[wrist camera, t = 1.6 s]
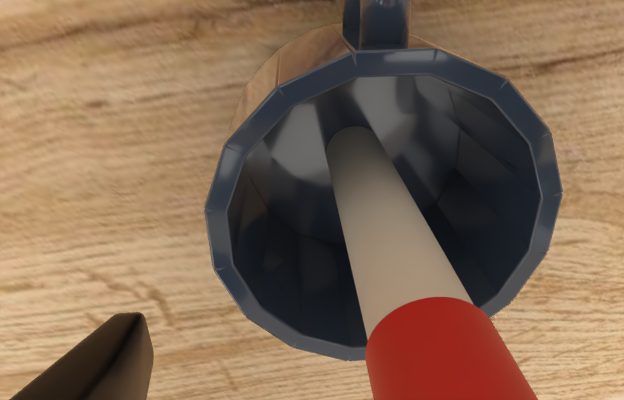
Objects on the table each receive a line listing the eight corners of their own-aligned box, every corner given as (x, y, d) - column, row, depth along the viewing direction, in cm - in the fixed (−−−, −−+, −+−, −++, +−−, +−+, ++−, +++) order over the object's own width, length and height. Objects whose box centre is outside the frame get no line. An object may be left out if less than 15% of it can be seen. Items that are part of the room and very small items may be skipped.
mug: (453, 241, 17) (523, 352, 12) (244, 251, 16) (227, 369, 11) (501, -101, 12) (654, -153, 7) (206, -94, 12) (149, -146, 7)
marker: (382, 179, 15) (574, 578, 5) (323, 182, 15) (399, 593, 5) (386, 121, 14) (627, 469, 4) (322, 123, 14) (413, 483, 4)
